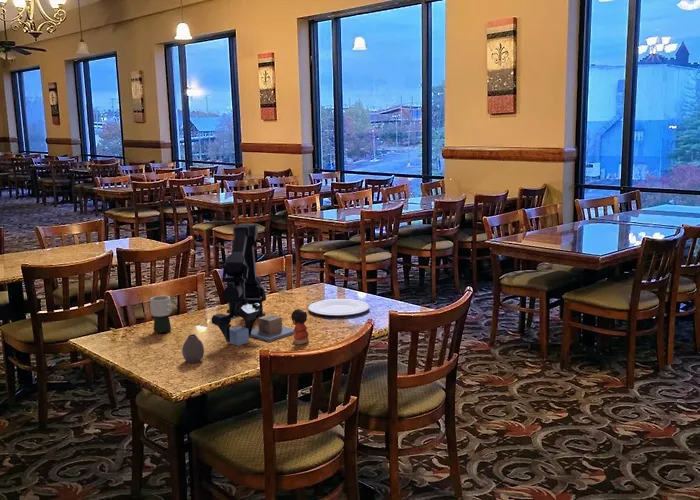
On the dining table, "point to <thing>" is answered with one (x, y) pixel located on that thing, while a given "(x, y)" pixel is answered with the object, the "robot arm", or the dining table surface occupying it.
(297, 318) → the figurine
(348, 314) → the plate
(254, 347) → the dining table surface
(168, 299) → the character mug
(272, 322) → the walnut brick
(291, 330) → the build plate
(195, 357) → the vase
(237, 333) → the blue brick
